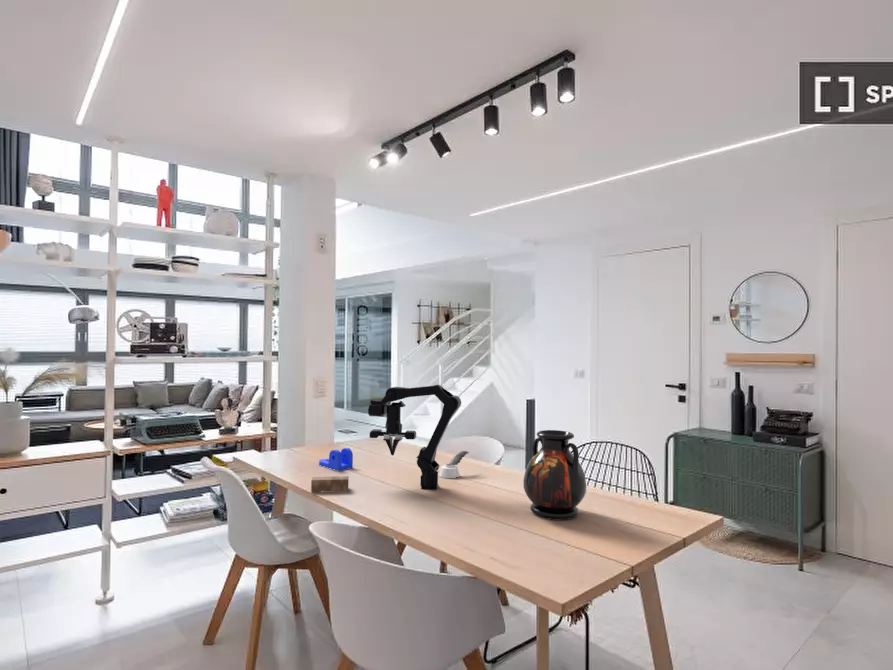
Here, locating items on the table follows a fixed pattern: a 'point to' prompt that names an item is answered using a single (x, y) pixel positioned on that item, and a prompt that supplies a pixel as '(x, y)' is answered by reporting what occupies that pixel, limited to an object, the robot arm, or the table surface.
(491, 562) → the table surface
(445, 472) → the inkwell
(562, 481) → the amphora vase
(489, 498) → the table surface
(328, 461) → the bracket
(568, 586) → the table surface
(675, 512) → the table surface
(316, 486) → the walnut block
